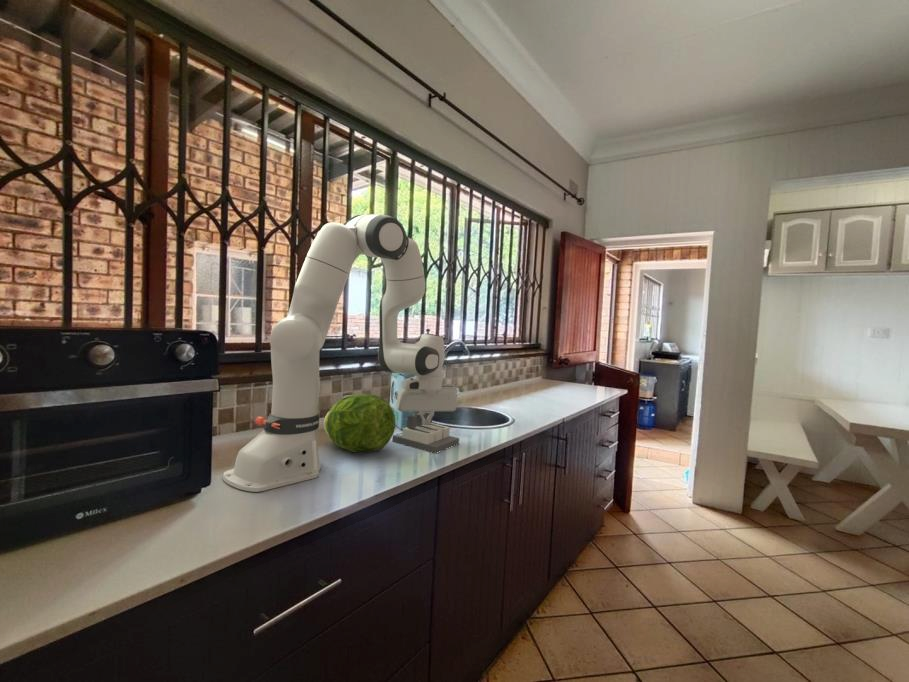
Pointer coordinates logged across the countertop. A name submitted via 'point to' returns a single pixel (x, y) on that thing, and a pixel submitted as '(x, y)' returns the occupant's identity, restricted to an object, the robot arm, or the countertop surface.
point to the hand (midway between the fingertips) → (425, 424)
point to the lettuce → (360, 423)
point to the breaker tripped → (418, 419)
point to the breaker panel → (427, 447)
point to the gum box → (395, 387)
